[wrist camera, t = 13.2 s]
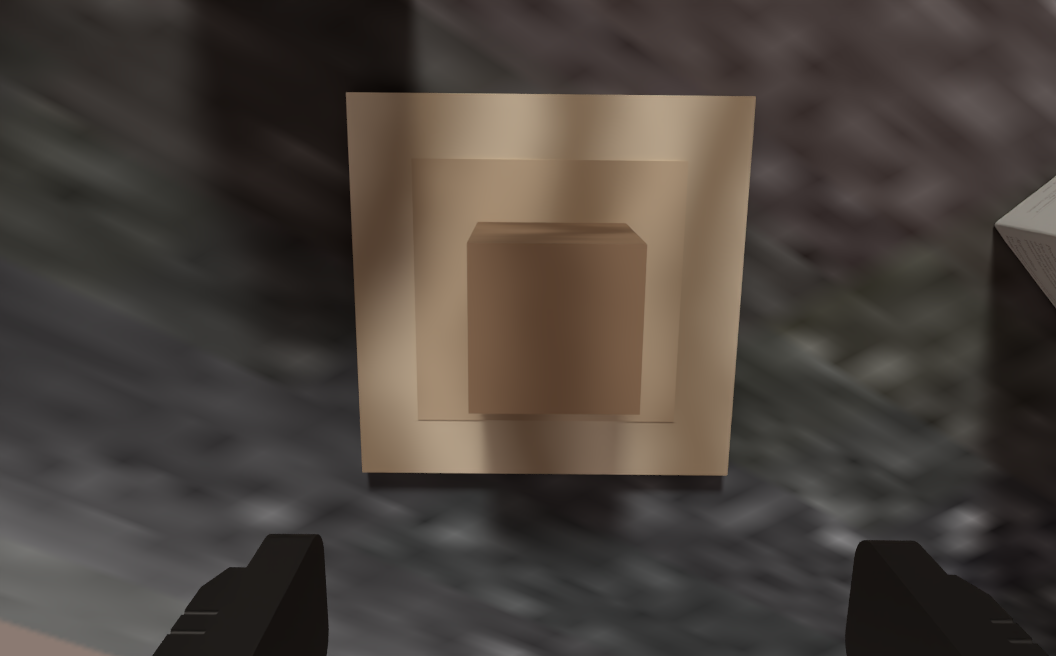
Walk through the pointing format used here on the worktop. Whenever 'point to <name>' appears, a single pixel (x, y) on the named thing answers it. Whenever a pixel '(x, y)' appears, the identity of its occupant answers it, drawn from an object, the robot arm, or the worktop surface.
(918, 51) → the worktop surface
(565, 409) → the walnut cube
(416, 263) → the birch board
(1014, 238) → the skincare box
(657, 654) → the worktop surface
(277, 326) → the worktop surface
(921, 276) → the worktop surface
